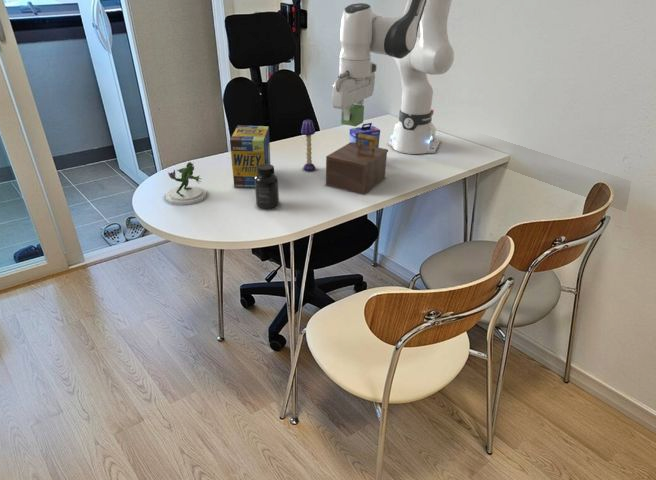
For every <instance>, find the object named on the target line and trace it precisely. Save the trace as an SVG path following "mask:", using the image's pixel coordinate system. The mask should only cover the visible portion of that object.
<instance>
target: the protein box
mask: <svg viewBox="0 0 656 480" xmlns="http://www.w3.org/2000/svg"><path fill="white" fill-rule="evenodd" d="M270 144H271V143H270V127H269V126H268V125H267V126H264V125H239V124H237V126H236V127H235V130H234V132H233V133H232V135H231V137H230V139H229V148H230V155H231V156H230V157H231V158H230V159H231V168H232V169H231V170H232V177H233V178H232V179H233V187H234V188H244V189H245V188H246V189H247V188H253V189H255V180H254V179H255V177H256V176H257V175H258V174H257V166H259V165H262V164H270V165H271V145H270Z"/></svg>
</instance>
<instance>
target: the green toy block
mask: <svg viewBox="0 0 656 480" xmlns="http://www.w3.org/2000/svg"><path fill="white" fill-rule="evenodd" d="M349 110H350V114H351V120H349V121H346V120H344V113H343V110H342V109H341V115H340V116H341V119H340V124H341V125H344V126H345V125H346V126H351V127H354V128H357V127H358V126H360V125H361V124H364V113H365V105H363V106H362V105H356V103H355V104H353V105H351V107H350V109H349Z"/></svg>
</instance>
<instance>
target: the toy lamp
mask: <svg viewBox="0 0 656 480" xmlns="http://www.w3.org/2000/svg"><path fill="white" fill-rule="evenodd" d="M300 133H301V134H302V135H303V136H305V142H306V143H305V146H306V147H305V150H306V152H305V154H306V157H305V158H306V163H305V164H304V165H303V167H302V169H303V171H307V172H313V171H315V170H316V166H315V164H314V163H312V162H313V161H312V159H313V158H312V136H313V135H315V133H316V130H315V125H314V123H313V120H311V119H305V120H303V122H302V125H301V130H300Z"/></svg>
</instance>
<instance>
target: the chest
mask: <svg viewBox="0 0 656 480" xmlns="http://www.w3.org/2000/svg"><path fill="white" fill-rule="evenodd" d="M387 157H388V152H387V153H386V154H384V155H383V156H381V157H380V158H378V159H377V160H375V161H374V162H372V163H371V164H370V165H368V166H367V167H362V166H357V165H352V164H348V163H343V162H339V161H334V160H330V159H326V158H325V186H326V187H329V188H330V187H331V188H335V189H339V190H342V191H346V192H347V191H348V192H351V193H356V194H359V195H360V194H361V195H362V196H363V195H365V194H367V193H368V192H369V191H370V190H372V189H373V188H374V187H376V186H377V185H378V184H380V183H381V182H382V181H383V180H385V178H386V169H387Z"/></svg>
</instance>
